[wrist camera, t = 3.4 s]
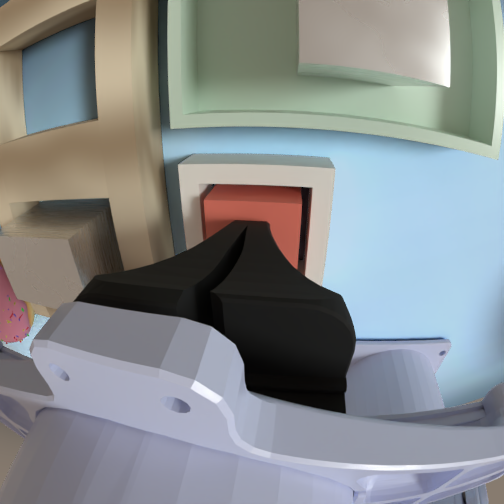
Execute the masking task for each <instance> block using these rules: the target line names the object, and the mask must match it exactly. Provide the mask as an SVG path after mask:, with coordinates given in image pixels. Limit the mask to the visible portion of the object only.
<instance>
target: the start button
mask: <svg viewBox="0 0 504 504" xmlns="http://www.w3.org/2000/svg"><path fill="white" fill-rule="evenodd" d="M204 212H205V225H206V237H207V239H208V238H209V237H211V236H212V235H214V234H215V233H217V232H218V231H220V230H221V229H223V228H224V227H225V226H227V225H228V224H230V223H231V222H233V221H235V220H245V221H267V222H268V223H269V224H270V230H271V233H272V236H273V238H274V240H275V242H276V244H277V246H278V247H279V249H280V250H281V252H282V253H283V255H284V256H285V257H286V259H287V260H288V261H289V262H290V263H291V265H292V266H293V267H294V268H295V269H297V266H298V254H299V241H300V227H301V212H302V196H301V187H288V186H265V185H233V184H216V185H215V186H214V188H213V189H212V190H211V191H210V193H209V194H208V195H207V197H206V198H205V199H204Z"/></svg>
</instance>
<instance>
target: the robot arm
mask: <svg viewBox="0 0 504 504" xmlns="http://www.w3.org/2000/svg"><path fill="white" fill-rule="evenodd" d="M450 348H451V342H450V340H448V339H441V340H415V341H356V336H355V330H354V326H353V322H352V319H351V317H350V314H349V311H348V309H347V307H346V304H345V302H344V300H343V298H342V296H341V295H340V294H337V293H335V292H333V291H331V290H328V289H326V288H324V287H322V286H320V285H318V284H317V283H315V282H313V281H312V280H310V279H308V278H307V277H306V276H304V275H303V274H302V273H300V272H299V271H298V270H297V269H295V268H294V267H293V266H292V265H291V263H290V262H289V261H288V260H287V259H286V257H285V256H284V255H283V253H282V252H281V250H280V249H279V247H278V246H277V244H276V242H275V240H274V238H273V236H272V233H271V230H270V224H269V223H268V222H267V221H245V220H235V221H233V222H231V223H230V224H228V225H227V226H225V227H224V228H223V229H221V230H220V231H218V232H217V233H215V234H214V235H212V236H211V237H209V238H208V239H206V240H204V241H203V242H201V243H199V244H198V245H196V246H194V247H192V248H190V249H188V250H186V251H184V252H182V253H180V254H178V255H176V256H173V257H171V258H168V259H165V260H162V261H159V262H156V263H154V264H151V265H147V266H143V267H140V268H135V269H131V270H126V271H121V272H115V273H108V274H101V275H95V276H94V277H93V279H92V280H91V281H90V282H89V283H88V284H87V286H86V287H85V288H84V289H83V290H82V291H81V293H80V294H79V295H78V296H77V297H76V299H75V300H74V301H73V302H69V303H62V304H61V305H60V307H59V308H58V309H57V310H56V311H55V313H54V314H53V315H52V316H51V317H50V319H49V320H48V321H47V322H46V324H45V325H44V326H43V327H42V329H41V330H40V331H39V332H38V334H37V335H36V336H35V338H34V339H33V341H32V344H31V346H30V353H31V356H32V359H31V358H29V357H27V356H24V355H22V354H20V353H17V352H15V351H13V350H11V349H9V348H6V347H4V346H3V344H2V342H1V340H0V422H2V423H3V424H4V425H6V426H7V427H8V428H10V429H11V430H12V431H14V432H15V433H17V434H18V435H20V436H21V437H22V438H24V439H25V440H24V442H23V443H22V445H21V447H20V449H19V451H18V453H17V455H16V457H15V459H14V461H13V463H12V465H11V467H10V470H9V471H8V474H7V476H6V478H5V480H4V482H3V484H2V487H1V489H0V504H489V503H488V496H487V491H486V485H485V483H488V482H490V481H493V480H495V479H498V478H499V477H501V476H502V475H504V382H503V383H500V384H497V385H496V386H494V387H493V388H492V389H491V390H490V391H489V392H488V393H487V394H486V396H485V397H484V399H483V400H482V401H481V402H476V403H472V404H466V405H461V406H455V407H449V408H445V407H444V403H443V400H442V396H441V393H440V390H439V386H438V383H437V380H436V377H435V373H436V372H437V370H438V368H439V367H440V365H441V363H442V362H443V360H444V358H445V357H446V355H447V353H448V351H449V350H450Z"/></svg>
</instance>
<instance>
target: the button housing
mask: <svg viewBox="0 0 504 504" xmlns="http://www.w3.org/2000/svg"><path fill="white" fill-rule="evenodd" d="M178 171H179V183H180V193H181V204H182V213H183V223H184V231H185V240H186V248H187V250H188V249H190V248H192V247H194V246H196V245H198V244H199V243H201V242H203V241H204V240H206V239H207V237H206V225H205V212H204V199H205V198H206V197H207V195H208V194H209V193H210V191H211V190H212V184H247V185H275V186H295V187H309V198H308V212H307V226H306V238H305V249H304V260H298V266H297V270H298V271H299V272H300V273H302V274H303V275H304V276H306V277H307V278H308V279H310V280H312V281H313V282H315V283H317V284H318V285H320V286H322V281H323V274H324V267H325V260H326V252H327V245H328V236H329V228H330V219H331V210H332V200H333V189H334V178H335V167H334V165H333V163H332V162H331V160H330V158H328V157H315V156H299V155H277V154H193V155H191V156H190V157H188V158H187V159H185V160H184V161H182V162H181V163H179V164H178Z"/></svg>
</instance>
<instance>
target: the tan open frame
mask: <svg viewBox="0 0 504 504" xmlns="http://www.w3.org/2000/svg"><path fill="white" fill-rule="evenodd" d="M94 17H96V21H95V75H96V96H97V110H98V118H97V119H92V120H87V121H82V122H77V123H72V124H68V125H64V126H59V127H55V128H51V129H47V130H43V131H40V132H36V133H32V134H29V135H27V133H26V124H25V114H24V102H23V83H22V50H23V49H24V48H26V47H28V46H30V45H32V44H34V43H36V42H38V41H40V40H42V39H44V38H46V37H48V36H50V35H53V34H55V33H57V32H59V31H61V30H64V29H66V28H69V27H71V26H73V25H76V24H78V23H81V22H83V21H86V20H89V19H92V18H94ZM90 198H109V202H110V207H111V212H112V217H113V222H114V227H115V232H116V237H117V241H118V246H119V250H120V254H121V258H122V262H123V266H124V270H125V271H126V270H131V269H135V268H140V267H143V266H147V265H151V264H154V263H156V262H159V261H162V260H165V259H168V258H171V257H173V256H175V253H174V246H173V239H172V231H171V224H170V216H169V208H168V199H167V191H166V181H165V171H164V160H163V149H162V136H161V122H160V104H159V81H158V0H10V1H9V2H7V3H6V4H4V5H3V6H2V7H0V224H1V227H2V228H3V227H4V226H6V225H7V224H9V223H10V222H12V221H13V220H14V219H16V218H17V217H19V216H20V215H22V214H23V213H25V212H26V211H28V210H29V209H31V208H32V207H34V206H36V205H37V204H39V201H47V200H66V199H90ZM31 305H32V307H33V310H34V312H35V314H39V315H42V316H46V317H51V316H52V315H53V314H54V313H55V311H56V310H57V309H54V308H50V307H46V306H42V305H38V304H34V303H31Z"/></svg>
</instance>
